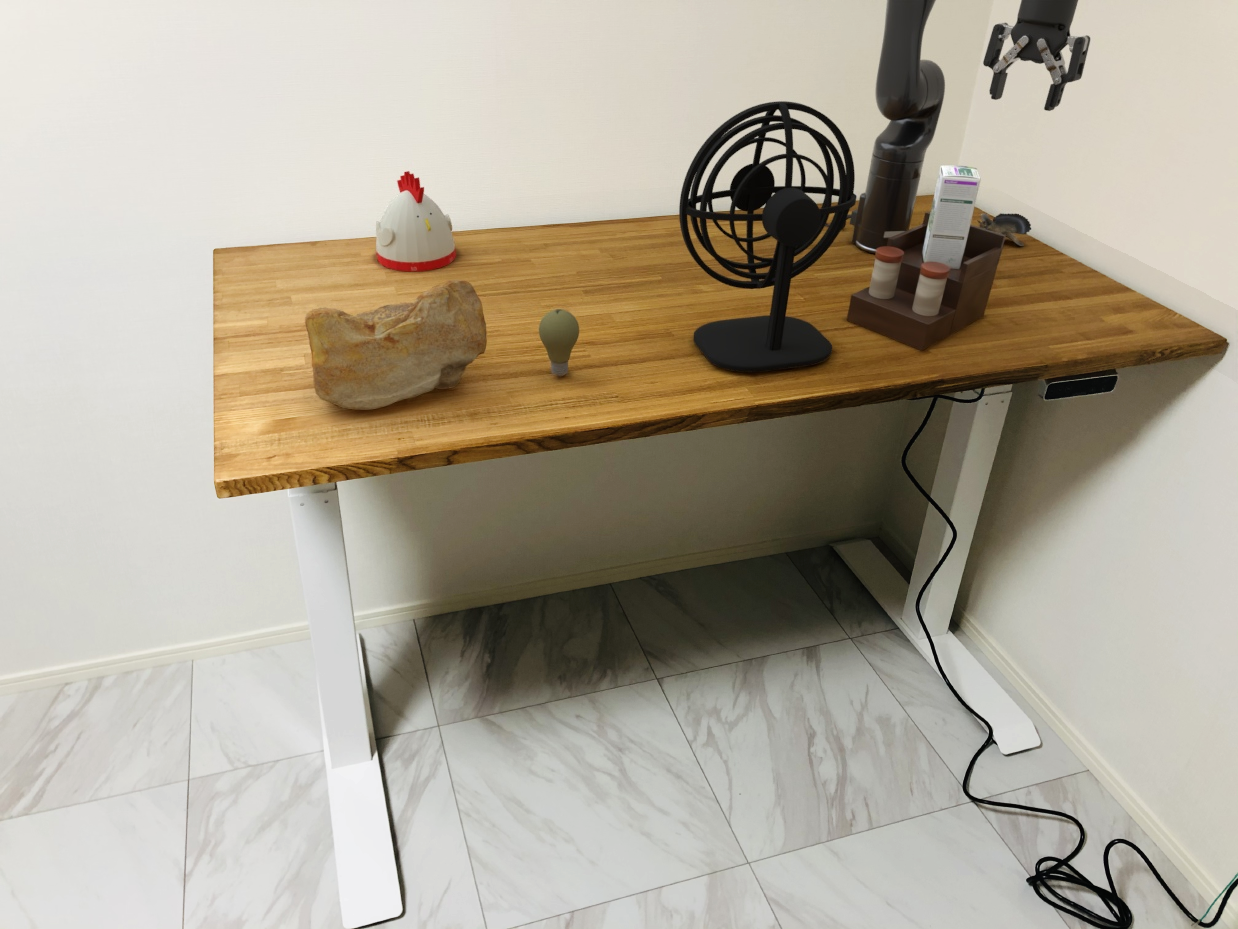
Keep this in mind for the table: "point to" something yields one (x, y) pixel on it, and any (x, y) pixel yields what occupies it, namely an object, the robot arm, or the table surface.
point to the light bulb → (559, 338)
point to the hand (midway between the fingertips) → (1021, 104)
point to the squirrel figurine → (1006, 225)
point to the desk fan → (767, 236)
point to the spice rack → (926, 288)
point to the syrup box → (951, 215)
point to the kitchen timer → (414, 231)
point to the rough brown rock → (396, 347)
